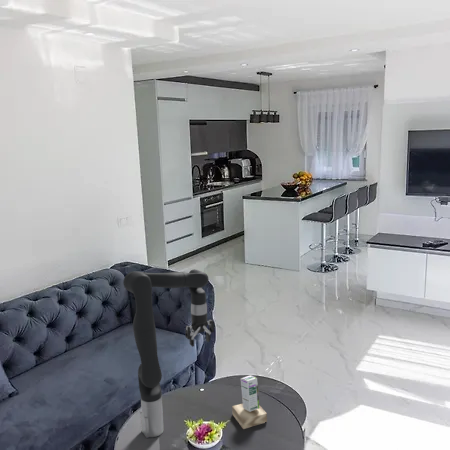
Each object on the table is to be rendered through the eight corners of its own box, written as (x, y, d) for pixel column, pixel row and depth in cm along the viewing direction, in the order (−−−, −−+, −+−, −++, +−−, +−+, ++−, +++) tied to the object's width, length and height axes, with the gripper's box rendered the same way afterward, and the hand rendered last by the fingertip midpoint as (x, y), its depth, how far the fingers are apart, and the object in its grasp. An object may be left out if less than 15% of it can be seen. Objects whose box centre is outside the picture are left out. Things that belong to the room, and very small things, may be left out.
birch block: (243, 430, 208) (243, 420, 207) (232, 415, 219) (232, 406, 218) (266, 423, 212) (266, 413, 212) (255, 409, 223) (255, 400, 222)
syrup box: (249, 412, 210) (247, 380, 210) (242, 408, 215) (240, 377, 215) (259, 408, 214) (257, 377, 213) (252, 404, 219) (250, 374, 218)
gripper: (189, 317, 209) (190, 350, 213) (216, 310, 217) (217, 342, 220) (181, 312, 216) (183, 344, 219) (208, 305, 223) (209, 337, 226)
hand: (200, 343), depth 219 cm, fingers open, 8 cm apart
